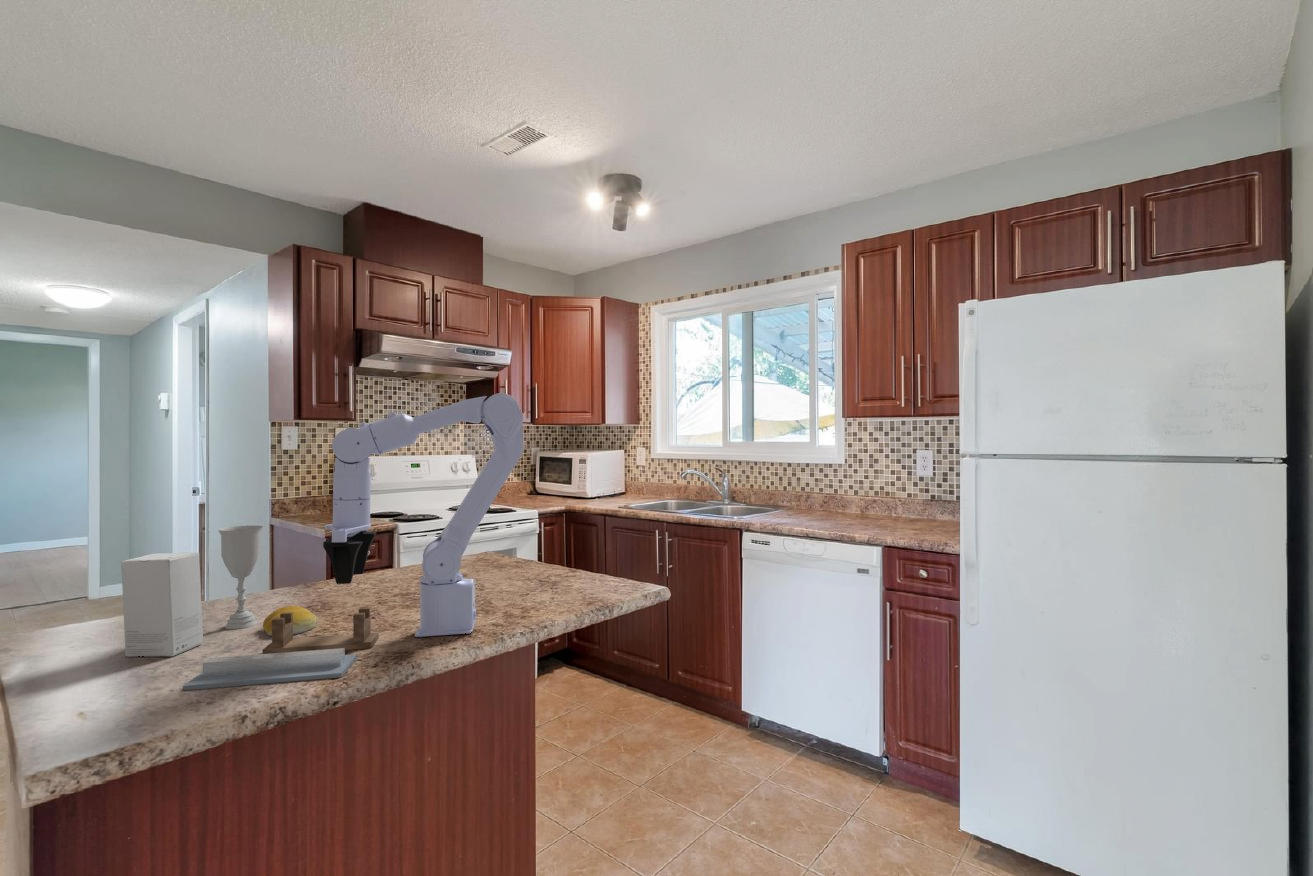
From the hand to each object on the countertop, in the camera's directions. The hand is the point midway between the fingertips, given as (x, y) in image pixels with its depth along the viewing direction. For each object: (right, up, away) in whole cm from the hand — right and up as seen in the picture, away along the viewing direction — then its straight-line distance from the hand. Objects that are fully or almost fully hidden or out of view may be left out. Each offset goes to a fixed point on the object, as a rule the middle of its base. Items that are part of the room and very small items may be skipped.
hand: (350, 578), depth 104 cm
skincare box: (-28, -11, -5) cm, 30 cm away
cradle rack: (-3, -10, -4) cm, 11 cm away
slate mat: (-3, -10, -15) cm, 19 cm away
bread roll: (-14, -11, +7) cm, 19 cm away
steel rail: (-3, -10, -15) cm, 18 cm away
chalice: (-25, -11, +9) cm, 29 cm away
